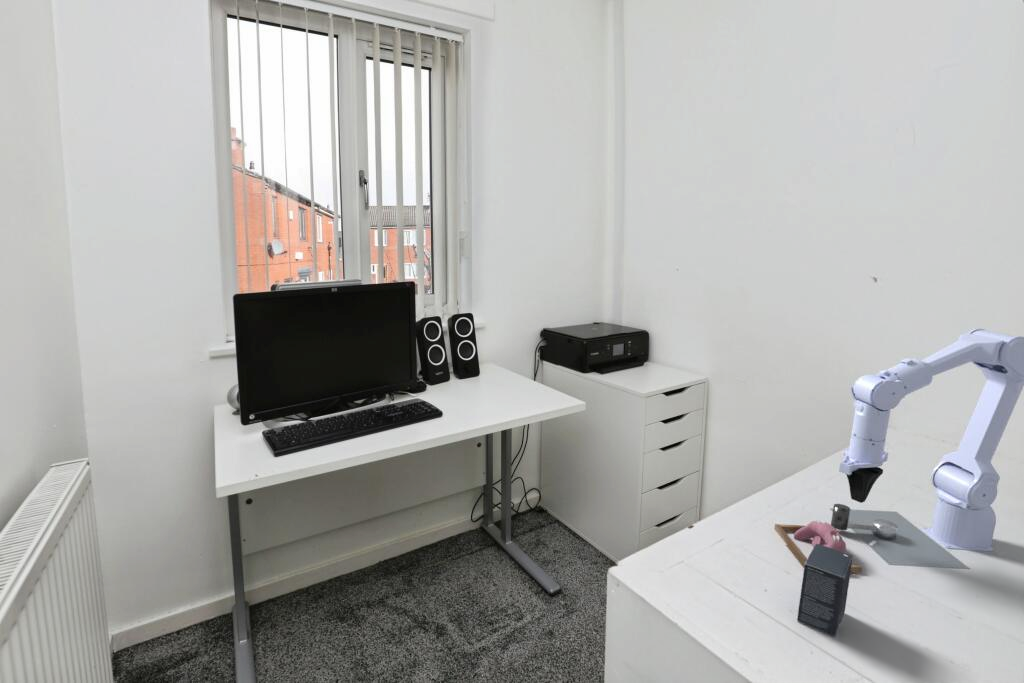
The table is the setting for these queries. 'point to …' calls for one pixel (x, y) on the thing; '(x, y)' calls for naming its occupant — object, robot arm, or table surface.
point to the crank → (862, 523)
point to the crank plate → (904, 542)
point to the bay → (795, 550)
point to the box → (824, 589)
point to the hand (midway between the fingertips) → (857, 500)
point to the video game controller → (821, 535)
